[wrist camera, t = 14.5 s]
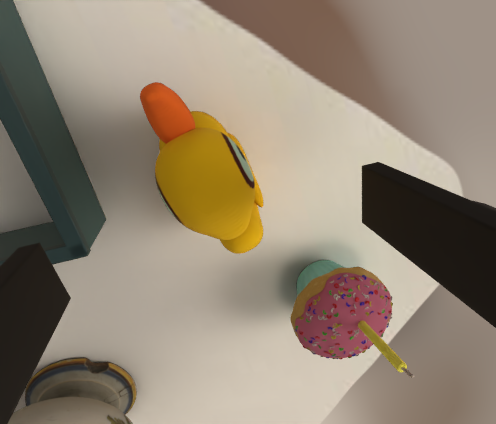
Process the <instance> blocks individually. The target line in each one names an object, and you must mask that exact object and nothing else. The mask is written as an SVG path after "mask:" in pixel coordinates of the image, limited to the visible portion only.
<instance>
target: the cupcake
mask: <svg viewBox="0 0 496 424" xmlns="http://www.w3.org/2000/svg"><path fill="white" fill-rule="evenodd" d="M296 287H297V299H296V301H295V304H294V307H293V312H292V314H291V323H292V326H293V329H294V332H295V334H296V336H297V337H298V339H299V341H300V343H301V344H302V345H303V347H304V348H306V349H308V350H310V351H311V352H312V353H313V354H318V355H321V357H326V358H333V359H338V358H339V359H342V358H346V357H348V358H351V357H352V356H358V355H359V353H361V352H362V353H364V352H365V351H366V349H369V348H370V347H371V346H372V345H373V344H374V345H375V346H376V347H377V348H378V349H379V351H380V352H381V353H382V354H383V355H384V356H385V357H386V358H387V359H388V361H389V362H391V364H392V365H393V366H394V367H395V368H396V369H397V370H398V371H399V372H406V373H407V375H408V376H410V377H412V378H413V377H414V375H412V374H411V373H410V372H409V371H408V370H407V369H406V368H407V365H406V364H405V363H404V362H403V361H402V360H401V358H400V357H399V356H398V355H397V354H396V353H395V352H394V351H393V350H392V349H391V348H390V347H389V346H388V345H387V344H386V343H385V342H384V341H383V340H382V339H381V338H380V337H383V333H384V331H385V329H386V327H388V325H389V322H390V319H391V318H392V317H391V315H392V313H391V312H392V305H393V303H392V302H391V300H392V296H391V297H390V293H389V291H388V290H387V288H386V287H385V286H384V284H383V283H382V282H381V281H380V280H379V279H378V278H377V277H376V276H375V275H374V274H373V273H371V272H369V271H367V270H365V269H363V268H361V267H353V268H344V267H342V266H340V265H339V264H337V263H335V262H333V261H329V260H322V261H317V262H314V263H312V264H310V265H309V266H307V267H306V268H305V269H304V270H303V271H302V272H301V274H300V275H299V277H298V280H297V286H296ZM391 303H392V304H391ZM363 351H364V352H363ZM357 354H358V355H357Z"/></svg>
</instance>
